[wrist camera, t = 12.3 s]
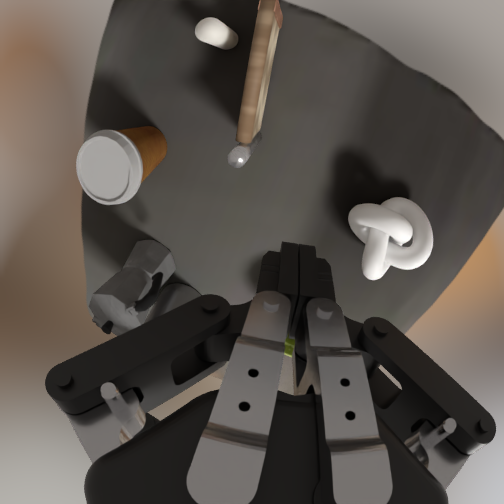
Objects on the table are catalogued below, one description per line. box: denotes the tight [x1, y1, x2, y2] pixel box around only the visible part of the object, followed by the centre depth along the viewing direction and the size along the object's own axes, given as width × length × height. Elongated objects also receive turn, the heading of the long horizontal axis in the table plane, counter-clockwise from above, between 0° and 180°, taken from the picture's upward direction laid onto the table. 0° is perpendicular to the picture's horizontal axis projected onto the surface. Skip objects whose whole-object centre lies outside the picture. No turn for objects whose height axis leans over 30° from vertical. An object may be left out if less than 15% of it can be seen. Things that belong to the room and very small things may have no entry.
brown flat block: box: [236, 0, 283, 143], centre depth 27 cm, size 16×2×10 cm, turn 171°
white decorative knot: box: [348, 197, 433, 280], centre depth 36 cm, size 11×12×9 cm
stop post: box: [195, 17, 238, 50], centre depth 26 cm, size 3×3×8 cm
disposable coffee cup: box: [76, 126, 167, 205], centre depth 34 cm, size 10×10×12 cm
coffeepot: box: [89, 240, 176, 336], centre depth 43 cm, size 15×9×18 cm, turn 121°
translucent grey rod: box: [228, 131, 262, 168], centre depth 32 cm, size 2×2×12 cm
